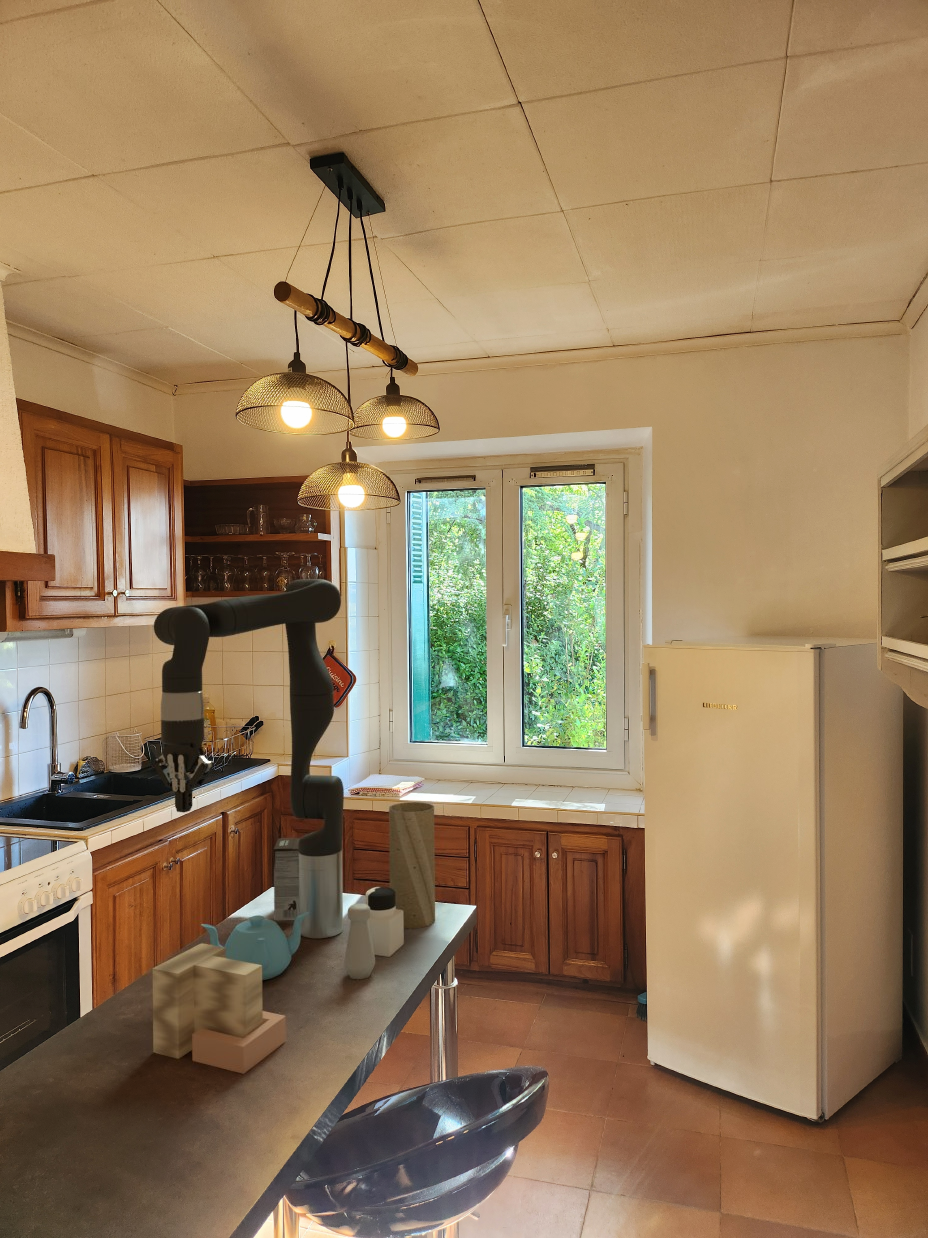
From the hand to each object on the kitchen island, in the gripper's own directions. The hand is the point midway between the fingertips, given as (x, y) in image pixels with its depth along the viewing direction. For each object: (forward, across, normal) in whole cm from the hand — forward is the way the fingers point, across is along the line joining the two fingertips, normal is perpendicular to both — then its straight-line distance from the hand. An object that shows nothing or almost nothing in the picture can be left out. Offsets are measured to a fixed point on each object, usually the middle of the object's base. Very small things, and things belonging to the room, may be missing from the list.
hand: (183, 811), depth 154 cm
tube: (+32, -23, -46) cm, 61 cm away
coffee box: (+32, +5, -39) cm, 51 cm away
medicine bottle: (+32, -24, -29) cm, 50 cm away
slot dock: (+32, -23, +15) cm, 42 cm away
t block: (+32, -19, +15) cm, 40 cm away
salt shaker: (+32, -27, -16) cm, 45 cm away
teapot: (+32, -8, -10) cm, 35 cm away
